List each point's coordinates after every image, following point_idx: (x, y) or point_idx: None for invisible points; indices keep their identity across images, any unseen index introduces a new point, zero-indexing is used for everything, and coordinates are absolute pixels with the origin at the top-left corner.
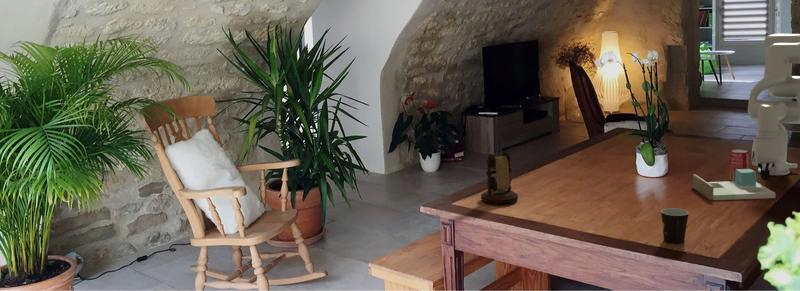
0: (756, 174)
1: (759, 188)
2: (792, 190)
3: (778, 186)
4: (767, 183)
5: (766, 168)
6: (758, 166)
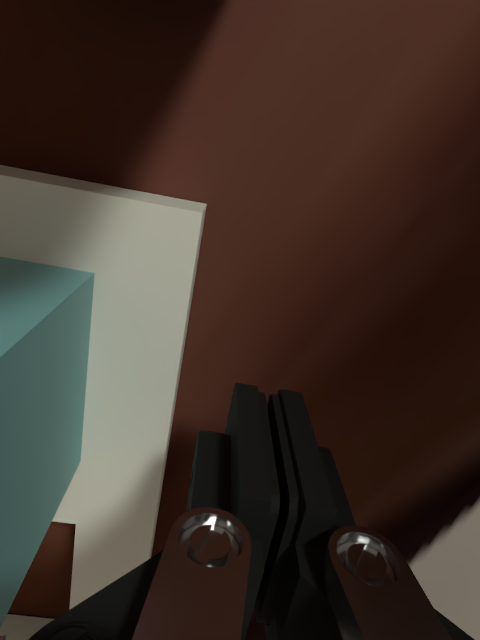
0: (11, 604)
1: (77, 536)
2: (453, 516)
3: (453, 349)
4: (447, 172)
5: (284, 625)
6: (92, 617)
